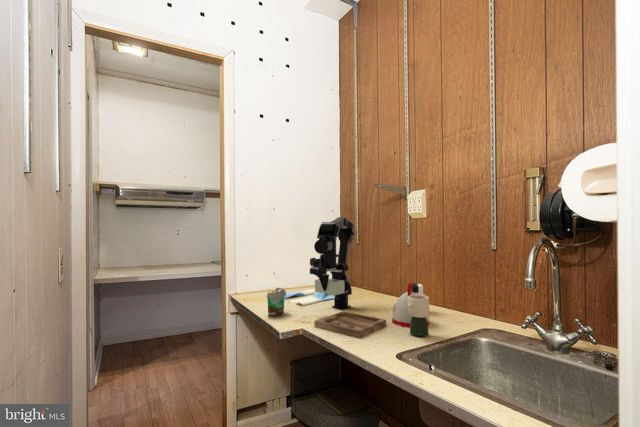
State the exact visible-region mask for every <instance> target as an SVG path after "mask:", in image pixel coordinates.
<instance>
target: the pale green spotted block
mask: <svg viewBox="0 0 640 427" xmlns="http://www.w3.org/2000/svg"><path fill="white" fill-rule="evenodd" d="M314 289H315V291H314V292H320V293H325V294H331V295H338V294H342V293H345V291H344V281H343V280H335V279H332V278H329V279H328V284H327V289H326V291H324V290H323V288H322V285H321V282H320V280H319V278H317V279H314Z"/></svg>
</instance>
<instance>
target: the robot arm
mask: <svg viewBox="0 0 640 427" xmlns="http://www.w3.org/2000/svg"><path fill="white" fill-rule="evenodd" d="M355 235H356V228H355V225H354V223H353V222H351V221H350V220H349V219H348V217H346V216H345V217H344V216H340V217H339V216H338V217H336V218H334V219H333V220H331V221H322V222H321V223H320V225H319V229H318V233H317V236H316V238H317V240H316V242H315V243H314V245H313V246H314V250H315V252H316V253H317V254H319V255H320V256H319V257H320V258H316V257H311V258H309V266H310V268H309V275H314V276H316V277H317V279H319V280H320V282H321V285H322V288H323V290H324V291H326V289H327V284H328V279H330V278H329V277H330V275H331V279H335V280H343V281H344V291H345V293H342V294H338V295H335V298H334V299H333V302H334V304H333V305H331V307H332V308H333V309H334V308H335V309H340V310H345V309H348V308H351V307H352V305H349V296H351V295H353V294H352V293H353V290H352V288H353V287H352V286H351V283H350V278H349V276H348V275H347V271H349V265H348V262H349V252H350V244H351V243H352V242H353V240H354V237H355ZM337 238H338V240H339V248H338V254H337ZM328 272H330V274H328Z"/></svg>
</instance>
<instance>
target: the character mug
mask: <svg viewBox="0 0 640 427" xmlns="http://www.w3.org/2000/svg"><path fill="white" fill-rule="evenodd" d="M408 313H409V315H411V316H412V318H411V324H410V328H409V333H410V334H411V335H415V336H417V337H418V336H419V337H420V336H423V337H425V336H429V334H430V332H429V325H428V324H427V319H426V318H425V317H428V316H429V317H430V297H429V296H428V295H425V296H423V295H410V296H408Z"/></svg>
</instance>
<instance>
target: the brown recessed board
mask: <svg viewBox="0 0 640 427" xmlns="http://www.w3.org/2000/svg"><path fill="white" fill-rule="evenodd" d="M386 326H387V320H386V319H384V318H378V317H373V316H368V315H362V314H359V313H354V312H350V311H349V312H348V311H343V310H342V311H339V312H338V313H337V312H336V313H335V314H331V315H327V316H325V317H321V318H319V319H316V320H314V327H315V328H317V329H321V330H326V331H330V332H334V333H337V334H341V335H346V336H349V337H352V336H353V337H352V338H358V339H360V338H363V337H366V336H367V335H369V334H371V333H373V332H375V331H378V330H380V329H382V328H384V327H386Z"/></svg>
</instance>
